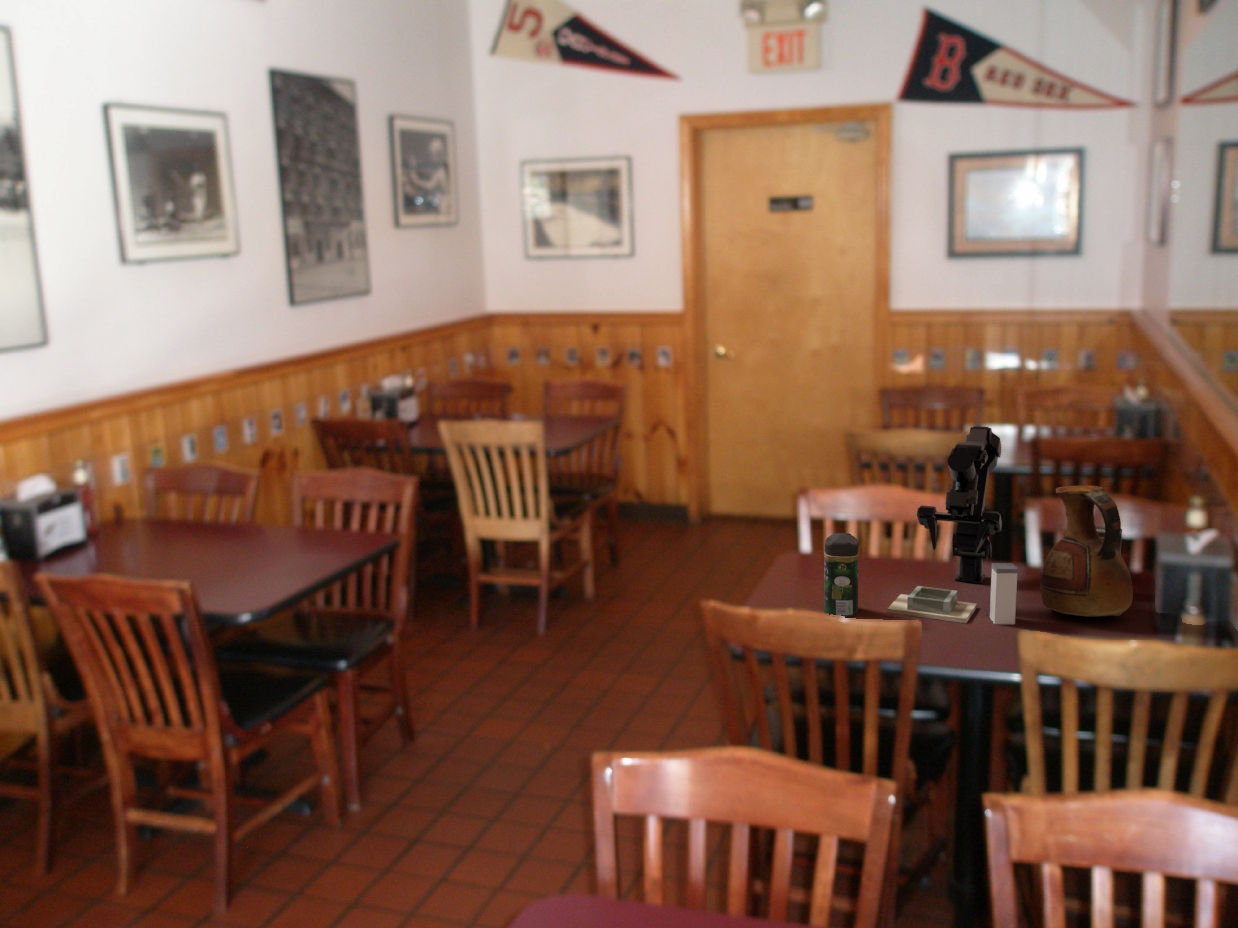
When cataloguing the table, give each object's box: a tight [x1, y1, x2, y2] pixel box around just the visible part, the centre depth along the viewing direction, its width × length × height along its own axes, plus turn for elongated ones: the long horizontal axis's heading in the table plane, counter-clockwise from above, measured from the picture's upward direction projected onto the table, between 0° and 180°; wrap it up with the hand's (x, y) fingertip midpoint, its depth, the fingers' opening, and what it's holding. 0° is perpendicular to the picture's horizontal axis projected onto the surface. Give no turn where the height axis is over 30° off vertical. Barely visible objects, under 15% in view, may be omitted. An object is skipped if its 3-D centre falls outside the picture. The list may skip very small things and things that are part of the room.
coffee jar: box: [823, 532, 860, 618], centre depth 266 cm, size 10×8×19 cm
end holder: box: [886, 585, 978, 624], centre depth 267 cm, size 12×18×4 cm, turn 62°
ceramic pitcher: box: [1039, 484, 1134, 618], centre depth 260 cm, size 20×20×30 cm
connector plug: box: [989, 562, 1019, 625], centre depth 258 cm, size 5×5×13 cm
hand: (954, 551), depth 264 cm, fingers open, 9 cm apart
